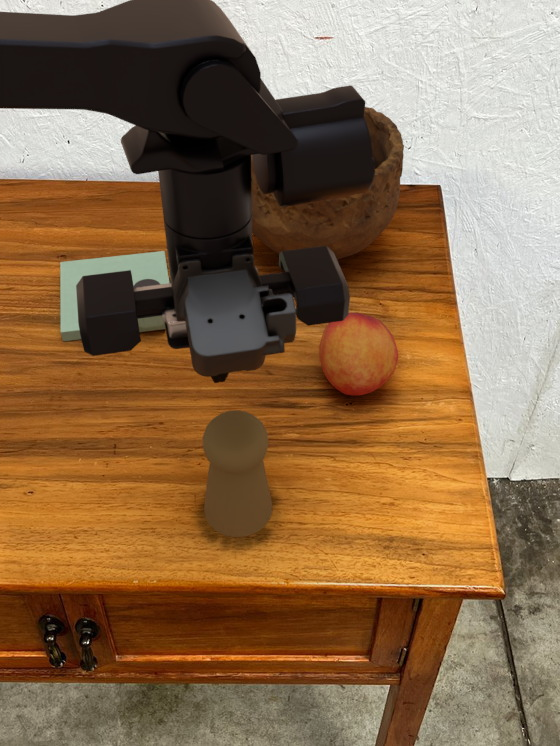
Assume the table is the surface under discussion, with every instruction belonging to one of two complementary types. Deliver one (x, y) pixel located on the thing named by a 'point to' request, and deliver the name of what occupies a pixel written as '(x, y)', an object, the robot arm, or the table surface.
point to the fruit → (357, 354)
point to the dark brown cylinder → (146, 283)
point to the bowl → (337, 204)
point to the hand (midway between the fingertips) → (218, 378)
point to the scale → (139, 265)
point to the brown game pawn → (236, 474)
